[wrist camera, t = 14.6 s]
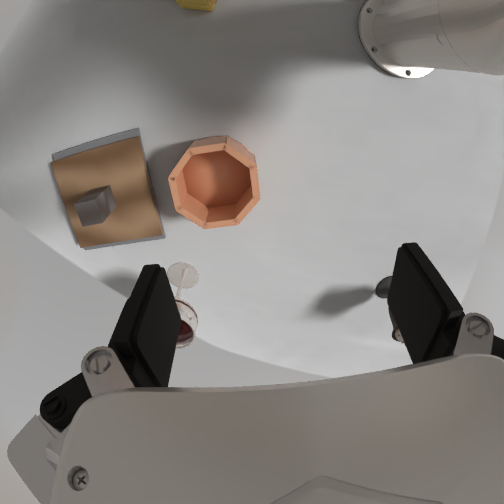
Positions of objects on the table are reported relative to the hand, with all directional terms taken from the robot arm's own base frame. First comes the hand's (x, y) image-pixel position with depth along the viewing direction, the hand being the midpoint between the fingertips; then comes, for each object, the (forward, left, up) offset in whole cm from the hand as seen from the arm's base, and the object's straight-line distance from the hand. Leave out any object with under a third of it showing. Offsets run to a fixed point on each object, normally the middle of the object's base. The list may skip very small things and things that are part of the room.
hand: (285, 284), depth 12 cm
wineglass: (+19, -13, -29) cm, 37 cm away
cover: (+4, -21, -28) cm, 35 cm away
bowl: (+4, -5, -29) cm, 29 cm away
